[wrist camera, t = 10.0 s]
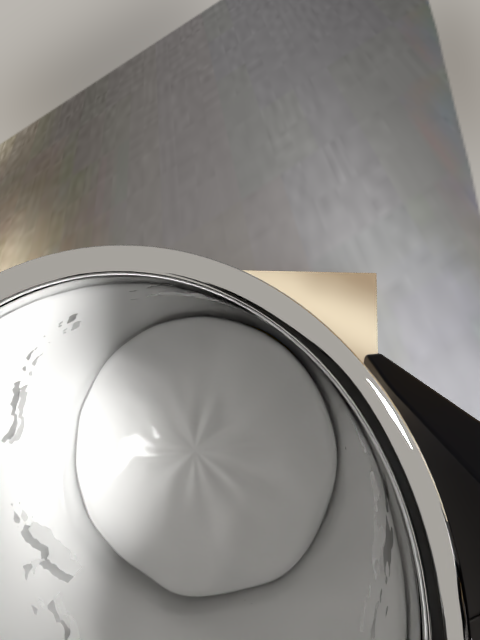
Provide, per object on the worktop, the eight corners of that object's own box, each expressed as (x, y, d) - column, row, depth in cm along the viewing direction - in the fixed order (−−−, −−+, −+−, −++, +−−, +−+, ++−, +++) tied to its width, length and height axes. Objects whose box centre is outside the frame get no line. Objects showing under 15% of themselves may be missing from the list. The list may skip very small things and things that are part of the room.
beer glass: (257, 479, 16) (155, 1602, 1) (166, 411, 17) (-382, 659, 3) (317, 381, 17) (674, 492, 2) (226, 321, 18) (41, 125, 3)
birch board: (371, 464, 17) (379, 472, 16) (185, 445, 18) (179, 450, 17) (369, 279, 19) (376, 273, 17) (200, 274, 20) (196, 269, 19)
